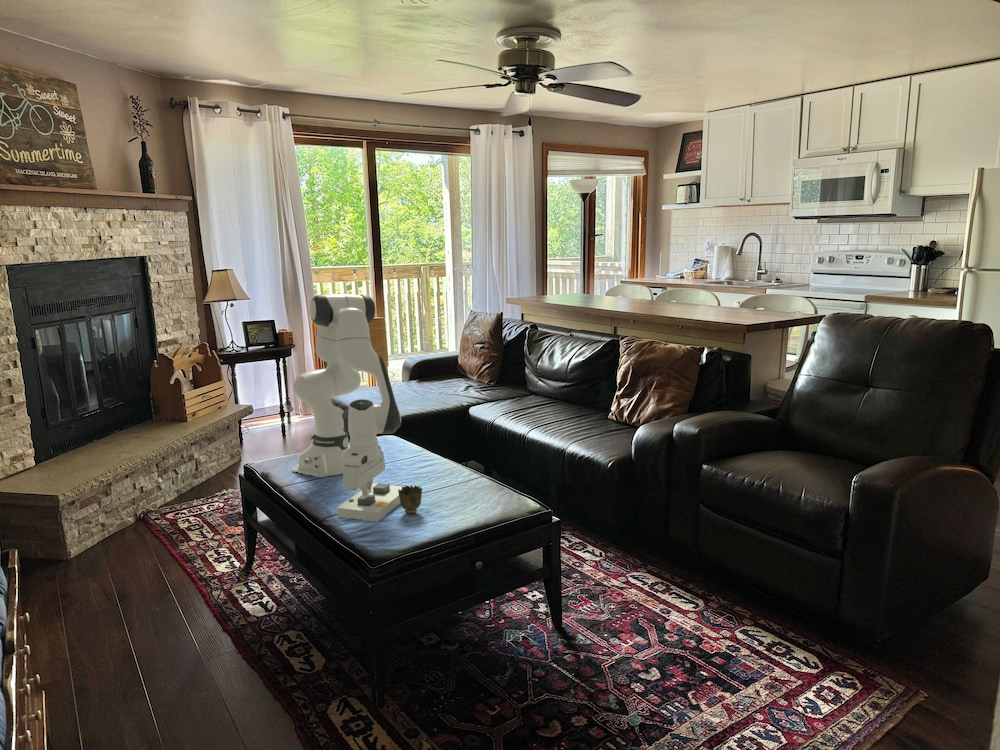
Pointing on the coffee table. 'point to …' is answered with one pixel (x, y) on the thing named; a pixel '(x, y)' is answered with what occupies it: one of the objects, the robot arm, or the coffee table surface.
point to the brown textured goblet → (410, 498)
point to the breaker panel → (374, 511)
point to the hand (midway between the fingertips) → (366, 494)
